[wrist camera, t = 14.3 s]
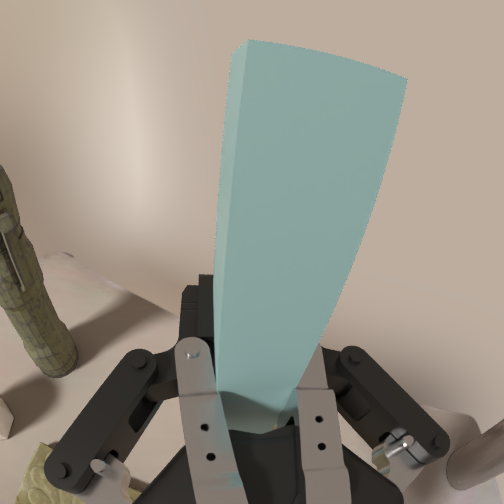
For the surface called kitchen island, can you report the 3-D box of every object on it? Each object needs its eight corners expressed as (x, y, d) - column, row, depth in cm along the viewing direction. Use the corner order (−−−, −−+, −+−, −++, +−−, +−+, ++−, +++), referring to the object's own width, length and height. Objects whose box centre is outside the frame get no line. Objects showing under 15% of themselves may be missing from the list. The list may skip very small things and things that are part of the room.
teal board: (243, 407, 20) (313, 65, 7) (249, 466, 16) (407, 78, 3) (210, 408, 20) (232, 53, 7) (213, 468, 16) (248, 39, 3)
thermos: (68, 390, 37) (-31, 195, 16) (26, 361, 38) (-59, 185, 18) (93, 353, 44) (31, 158, 23) (50, 329, 45) (-11, 156, 25)
